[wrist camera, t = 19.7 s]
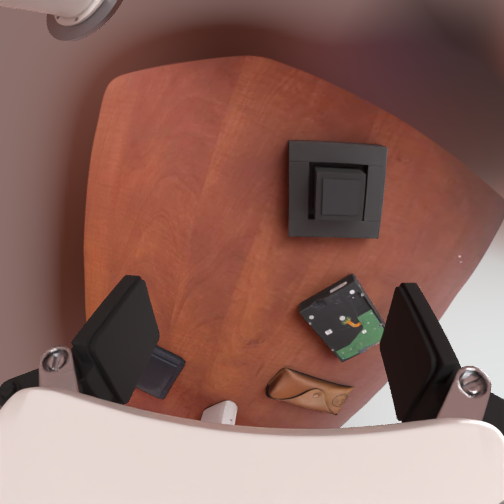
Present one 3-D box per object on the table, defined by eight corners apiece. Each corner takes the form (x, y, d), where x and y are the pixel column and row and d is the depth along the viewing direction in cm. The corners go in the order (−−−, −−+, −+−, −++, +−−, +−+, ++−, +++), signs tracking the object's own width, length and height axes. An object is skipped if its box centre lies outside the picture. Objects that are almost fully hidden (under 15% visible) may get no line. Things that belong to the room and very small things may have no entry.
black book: (161, 404, 64) (108, 375, 62) (163, 398, 66) (111, 370, 64) (186, 367, 55) (120, 332, 53) (189, 361, 57) (124, 326, 55)
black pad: (313, 165, 36) (316, 172, 32) (358, 167, 35) (366, 174, 32) (312, 209, 39) (314, 220, 35) (355, 210, 38) (362, 222, 34)
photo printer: (227, 397, 62) (217, 442, 51) (240, 405, 63) (232, 449, 52) (201, 409, 66) (190, 449, 55) (214, 416, 67) (204, 456, 56)
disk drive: (297, 302, 47) (340, 353, 51) (297, 313, 45) (342, 363, 49) (352, 270, 43) (389, 327, 47) (355, 280, 41) (392, 338, 45)
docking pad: (288, 140, 36) (288, 141, 33) (381, 145, 34) (387, 147, 32) (288, 229, 41) (288, 236, 39) (373, 231, 40) (378, 238, 37)
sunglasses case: (357, 387, 55) (350, 416, 51) (340, 389, 61) (334, 415, 57) (282, 366, 54) (273, 398, 50) (271, 369, 60) (262, 398, 56)
